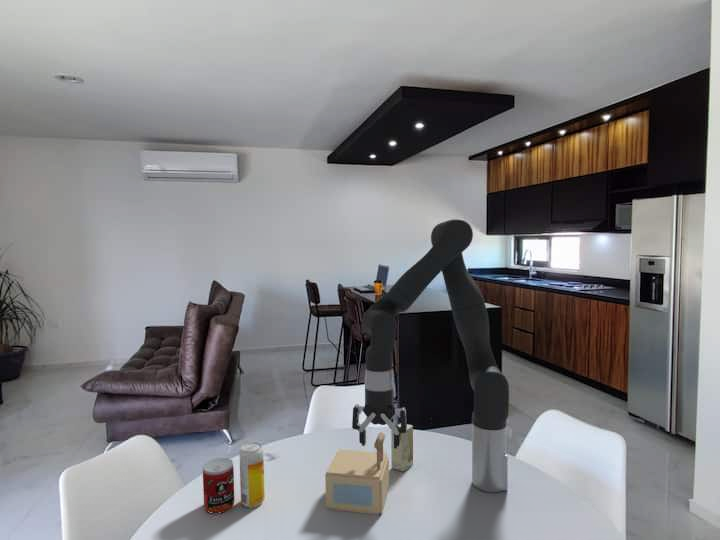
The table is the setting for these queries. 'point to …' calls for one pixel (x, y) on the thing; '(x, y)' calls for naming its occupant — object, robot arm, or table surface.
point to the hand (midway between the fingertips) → (379, 445)
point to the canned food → (218, 485)
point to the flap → (359, 462)
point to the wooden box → (357, 492)
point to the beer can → (252, 474)
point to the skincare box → (403, 450)
